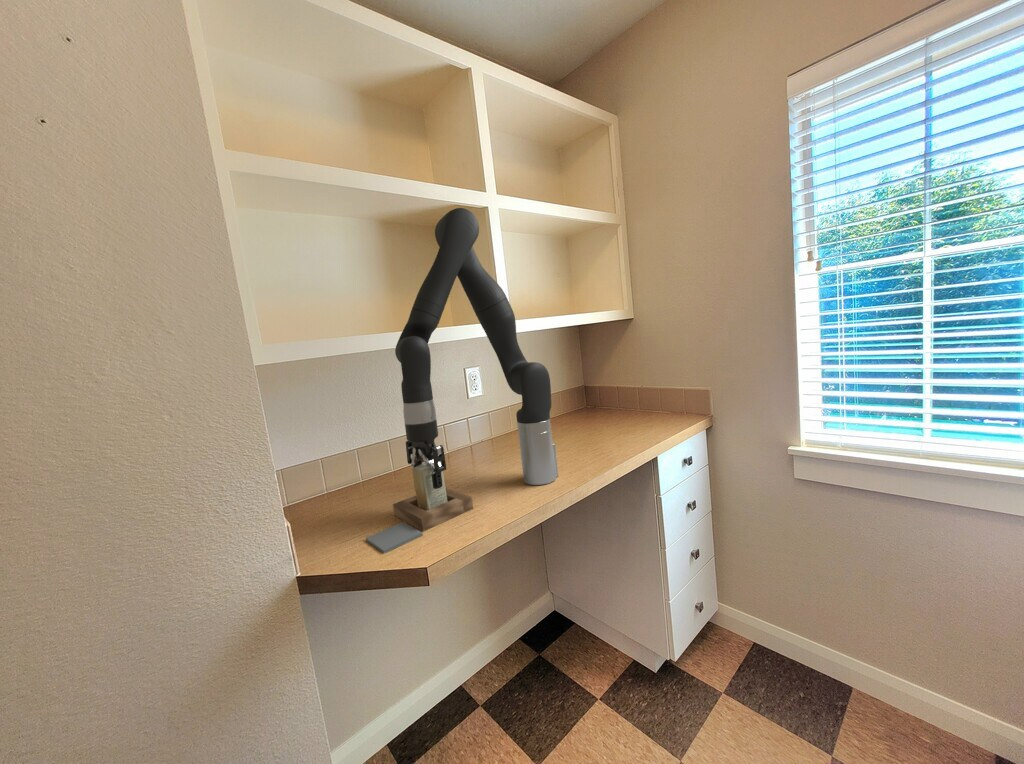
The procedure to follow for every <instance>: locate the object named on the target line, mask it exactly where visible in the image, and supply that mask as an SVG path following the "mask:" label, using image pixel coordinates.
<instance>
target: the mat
mask: <svg viewBox="0 0 1024 764" xmlns="http://www.w3.org/2000/svg"><path fill="white" fill-rule="evenodd" d="M423 536H424V533H423V531H421V530H420V529H418V528H416V527H414V526H412V525H410V524H409V523H407V522H405V521H402V522H400V523H397V524H395V525H393V526H391V527H388V528H386V529H383V530H381V531H377V532H376V533H374V534H372V535H368V536H367V537H365V541H366V542H368V543H369V544H371V545H372V546H373V547H374V548H375V549H377V550H379V551H380V552H381V553H382V554H386V553H388V552H390V551H392V550H394V549H397V548H399V547H400V546H403V545H405V544H407V543H410V542H412V541H414V540H415V539H418V538H420V537H423Z"/></svg>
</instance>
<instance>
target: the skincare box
mask: <svg viewBox="0 0 1024 764" xmlns="http://www.w3.org/2000/svg"><path fill="white" fill-rule="evenodd" d="M440 464H441V461H440ZM441 466H442V464H441ZM433 467H434V465H433ZM411 470H412V471H411V473H412V477H413V478H412V479H413V484H414V489H415V495H416V497H417V503H418V507H419V508H421V509H423V510H425V511H427V510H430V509H432V508H434V507H437V506H439V505H441V504H444V503H446V502H448V501H447V495H446V488H447V487H446V482H445V476H444V471H442V472H441V476H442V487H441V488H438V489H434V488H433V483H432V475H431V474H432V473H431V471H430V469H429V467H427V466H426V465H425V463H424V462H423V463H422V464H421V465H419V466H416V467H414V468H412V467H411ZM445 487H446V488H445Z"/></svg>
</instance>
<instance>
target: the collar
mask: <svg viewBox="0 0 1024 764" xmlns="http://www.w3.org/2000/svg"><path fill="white" fill-rule="evenodd" d="M445 488H446V495H447V501H448V502H446V503H444V504H441V505H439V506H437V507H434V508H432V509H430V510H427V511H425V510H423V509H421V508H419V507H418V503H417V497H416V494H414V496H410V497H407V498H405V499H403V500H401V501H397V502H396V503H393V504H392V509H393V514H394V517H396V518H398V519H400V520H402V522H404V523H406V524H408V525H410V526H411V527H413V528H415V529H417V530H419V531H420V532H426V531H428V530H430V529H432V528H435V527H436V526H438V525H440V524H443V523H445V522H447V521H449V520H452V519H454V518H456V517H458V516H460V515H462V514H464V513H467V512H468V511H471V510H474V504H473V497H472V496H470V495H468V494H465V493H462V492H460V491H457V490H454V489H451V488H449V487H446V486H445Z"/></svg>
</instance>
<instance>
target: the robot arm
mask: <svg viewBox="0 0 1024 764" xmlns="http://www.w3.org/2000/svg"><path fill="white" fill-rule="evenodd" d="M479 233H480V225H479V220H478V219H477V217H476V215H475V214H474V213H473V212H472V211H470V209H467V208H464V207H457V208H454V209H451V210H449V211H448V212H446V213H445V215H444V216H443V217H441V218H440V219H439V220H438V221H437V223H436V225H435V228H434V237H435V241H436V243H437V245H438V247H439V248H438V251H437V254H436V256H435V259H434V261H433V263H432V266H431V267H430V269H429V271H428V273H427V275H426V276H425V278H424V280H423V282H422V284H421V285H420V287H419V290H418V292H417V294H416V297H415V300H414V302H413V305H412V307H411V310H410V313H409V317H408V319H407V321H406V324H404V325H405V326H404V328H403V330H402V331H401V334H400V336H399V338H398V340H397V343H396V345H395V350H394V352H395V353H394V354H395V357H396V359H397V361H398V362H399V363H400V367H401V368H400V369H401V374H402V380H401V385H400V386H401V396H402V397H401V398H402V404H403V406H402V407H403V411H402V414H403V420H404V429H405V437H406V441H405V451H406V460H407V461H406V462H407V464H408V465H411V469H412V468H414V467H416V466H419V465H421V464H423V463H425V465H426V466H427V467H429V469H430V471H431V473H432V474H431V475H432V483H433V488H434V489H438V488H441V487H442V476H441V472H442V471H443V472H444V471H446V470H447V464H446V463H447V462H446V455H445V449H444V446H443V444H440V445H436V443H435V439H436V438H438V436H439V430H438V429H439V428H438V423H437V413H436V407H435V403H434V397H433V388H432V383H431V373H432V372H431V369H432V368H431V367H432V366H431V365H432V364H431V363H432V361H431V351H430V347H429V341H430V339H431V337H432V334H433V333H434V331H435V330H436V329H437V327H438V326H439V323H440V320H441V318H442V315H443V314H444V313H443V312H444V310H445V307H446V304H447V303H448V300H449V296H450V293H451V291H452V289H453V285H454V284H455V281H456V279H457V278H458V280H459V282H460V284H461V286H462V288H463V291H464V293H465V295H466V297H467V299H468V301H469V302H470V305H471V307H472V309H473V312H474V313H475V316H476V317H477V320H478V321H479V324H480V325H481V328H482V329H483V331H484V333H485V335H486V337H487V339H488V341H489V343H490V344H491V347H492V348H493V351H494V353H495V355H496V357H497V360H498V362H499V364H500V367H501V370H502V372H503V374H504V377H505V380H506V383H507V385H508V386H509V388H510V390H511V391H513V393H514V394H516V395H519V396H520V395H521V403H522V404H521V405H522V406H521V408H520V409H518V410H517V411H516V413H515V415H516V425H517V432H518V443H519V450H520V460H521V467H522V470H521V471H522V477H523V482H524V483H525V484H527V485H531V486H542V485H547V484H550V483H551V484H552V482H554V481H555V480H556V479H557V477H559V470H558V469H559V468H558V460H557V459H558V457H557V451H556V444H555V443H554V442H553V435H552V434H553V433H552V425H551V415H550V414H551V413H550V412H551V410H552V388H551V386H552V385H551V378H550V374H549V371H548V369H547V368H546V366H545V365H544V364H542V363H539V362H533V361H532V362H531V361H530V362H529V361H527V359H526V357H525V356H524V353H523V352H522V350H521V347H520V344H519V342H518V338H517V326H516V325H517V323H516V317H515V312H514V310H513V307H512V305H511V304H510V301H509V300H508V297H507V296H506V293H505V292H504V290H503V288H502V287H501V286H500V285H499V283H498V282H497V281H496V280H495V279H494V278H493V277H492V276H491V274H489V272H488V271H487V270H486V269H485V268H484V267H483V265H482V264H481V262H480V260H479V258H478V255H477V254H476V251H475V249H474V244H475V242H476V241H477V239H478V237H479ZM440 462H441V464H442V466H441V464H440ZM433 465H434V467H433Z"/></svg>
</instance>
